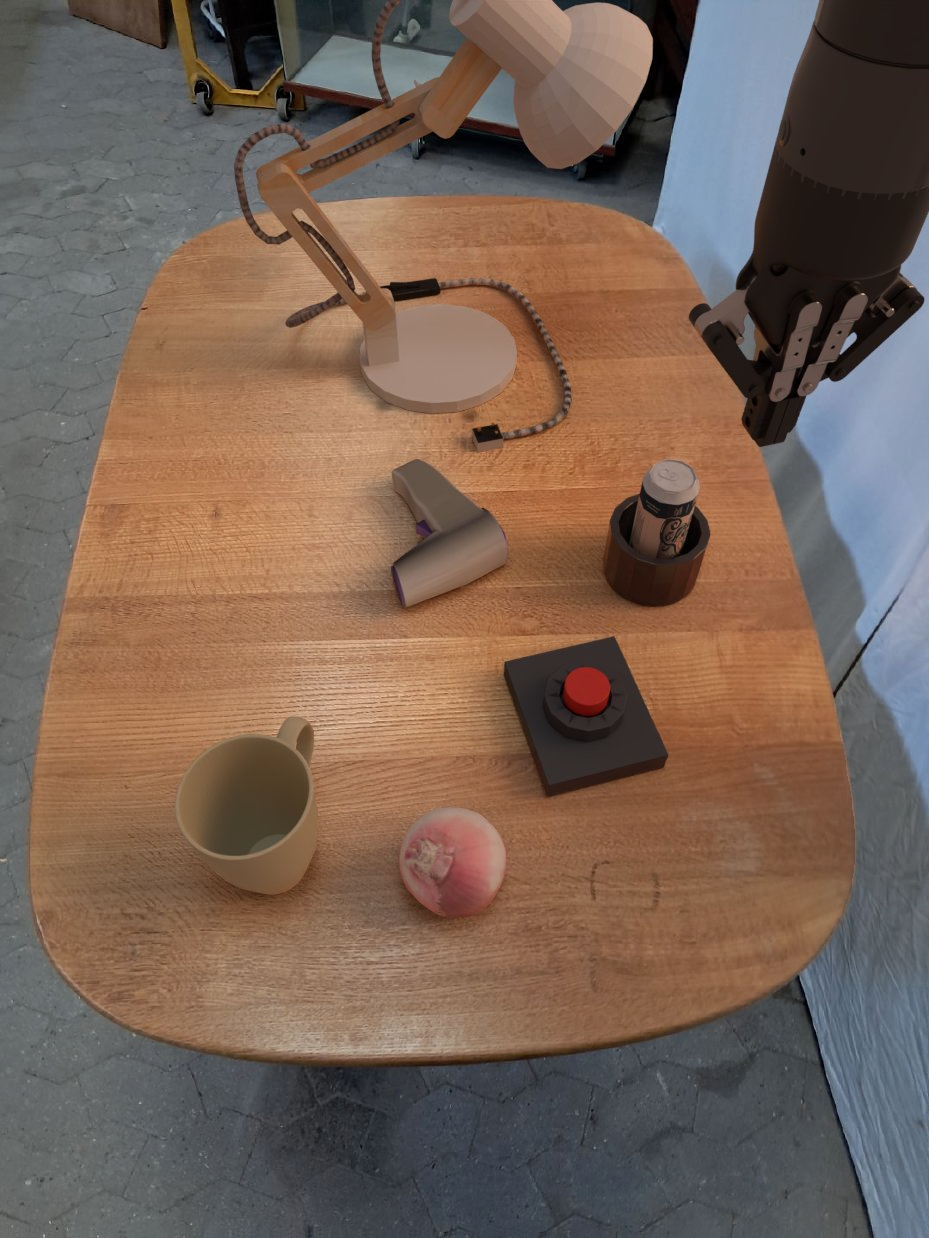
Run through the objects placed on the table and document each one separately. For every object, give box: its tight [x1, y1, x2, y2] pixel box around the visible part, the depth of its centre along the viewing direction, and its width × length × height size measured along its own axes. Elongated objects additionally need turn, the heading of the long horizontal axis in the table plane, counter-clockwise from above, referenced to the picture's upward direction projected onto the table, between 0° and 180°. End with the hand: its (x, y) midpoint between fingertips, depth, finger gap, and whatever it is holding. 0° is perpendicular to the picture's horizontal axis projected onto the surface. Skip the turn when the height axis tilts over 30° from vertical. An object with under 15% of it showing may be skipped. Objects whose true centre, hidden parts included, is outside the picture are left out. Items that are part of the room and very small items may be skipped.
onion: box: [398, 806, 507, 919], centre depth 65 cm, size 8×8×7 cm
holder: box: [602, 493, 711, 608], centre depth 83 cm, size 9×9×6 cm
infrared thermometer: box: [390, 458, 509, 609], centre depth 86 cm, size 5×12×15 cm
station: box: [503, 636, 669, 798], centre depth 75 cm, size 12×10×4 cm
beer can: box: [629, 458, 701, 558], centre depth 81 cm, size 5×5×12 cm
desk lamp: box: [233, 0, 654, 453], centre depth 88 cm, size 31×38×40 cm
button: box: [563, 667, 610, 716], centre depth 73 cm, size 4×4×2 cm
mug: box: [174, 715, 320, 896], centre depth 65 cm, size 11×10×12 cm
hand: (764, 435), depth 55 cm, fingers closed
